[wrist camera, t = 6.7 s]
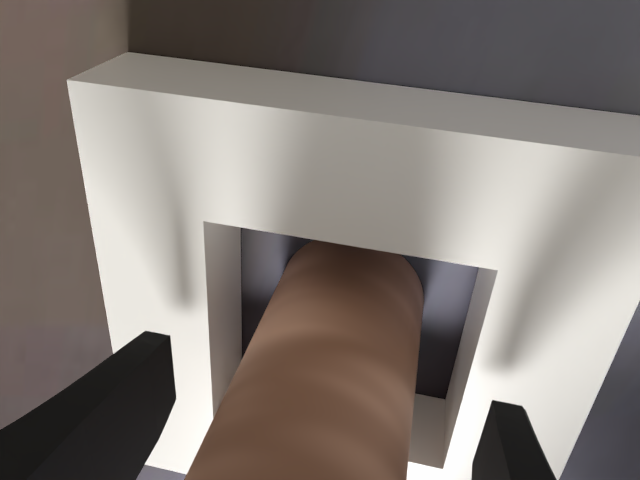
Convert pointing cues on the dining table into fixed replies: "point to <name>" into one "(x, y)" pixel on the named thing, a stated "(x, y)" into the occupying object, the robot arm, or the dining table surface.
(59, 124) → the dining table surface
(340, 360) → the peg
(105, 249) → the socket block
